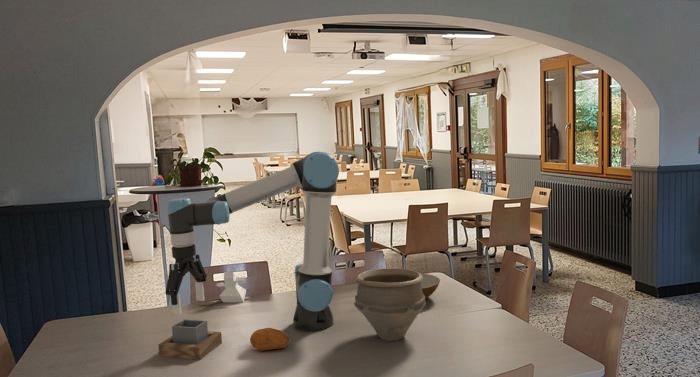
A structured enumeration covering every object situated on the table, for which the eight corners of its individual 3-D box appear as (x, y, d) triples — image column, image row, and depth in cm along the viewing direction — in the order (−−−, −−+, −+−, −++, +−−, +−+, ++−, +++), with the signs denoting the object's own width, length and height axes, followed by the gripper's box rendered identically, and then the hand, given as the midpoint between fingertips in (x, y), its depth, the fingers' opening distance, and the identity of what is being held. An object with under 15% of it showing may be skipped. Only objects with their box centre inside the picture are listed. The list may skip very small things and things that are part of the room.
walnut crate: (221, 343, 179) (221, 332, 179) (200, 359, 166) (199, 347, 166) (183, 340, 184) (182, 329, 183) (159, 356, 171) (158, 344, 170)
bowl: (445, 307, 206) (444, 287, 206) (382, 309, 207) (381, 290, 206) (435, 289, 231) (435, 271, 231) (379, 291, 232) (379, 273, 231)
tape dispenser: (221, 297, 233) (219, 267, 232) (251, 297, 232) (249, 267, 230) (214, 303, 225) (212, 272, 224) (245, 303, 223) (243, 272, 222)
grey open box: (208, 343, 177) (207, 320, 176) (197, 351, 170) (195, 328, 170) (185, 341, 179) (184, 319, 179) (173, 349, 173) (171, 326, 172)
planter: (344, 346, 172) (341, 281, 170) (367, 320, 195) (364, 263, 192) (418, 353, 163) (415, 285, 161) (433, 326, 186) (431, 266, 184)
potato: (254, 345, 176) (253, 325, 176) (291, 344, 175) (290, 324, 174) (248, 354, 169) (247, 333, 168) (287, 353, 168) (286, 332, 167)
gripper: (194, 237, 184) (200, 295, 187) (149, 253, 161) (156, 319, 163) (213, 237, 182) (218, 295, 184) (170, 253, 159) (176, 320, 161)
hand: (189, 307), depth 174 cm, fingers open, 13 cm apart
